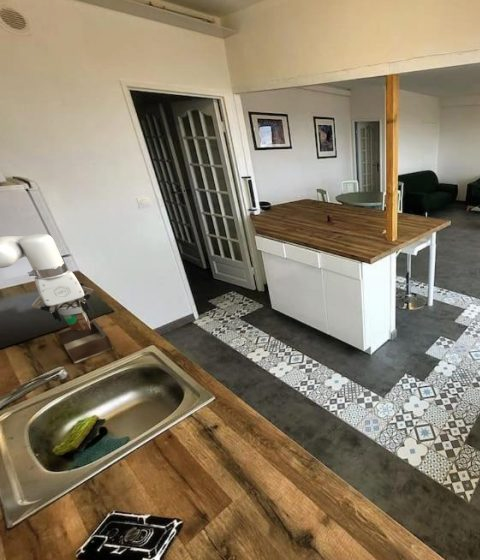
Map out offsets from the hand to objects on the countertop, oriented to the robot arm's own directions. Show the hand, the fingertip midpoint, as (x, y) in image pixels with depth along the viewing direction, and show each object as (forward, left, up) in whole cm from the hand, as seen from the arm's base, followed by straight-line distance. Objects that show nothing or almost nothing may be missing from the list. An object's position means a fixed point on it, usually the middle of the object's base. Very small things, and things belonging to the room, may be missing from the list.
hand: (73, 315), depth 112 cm
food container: (0, 0, -5) cm, 5 cm away
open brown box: (0, 0, -14) cm, 14 cm away
